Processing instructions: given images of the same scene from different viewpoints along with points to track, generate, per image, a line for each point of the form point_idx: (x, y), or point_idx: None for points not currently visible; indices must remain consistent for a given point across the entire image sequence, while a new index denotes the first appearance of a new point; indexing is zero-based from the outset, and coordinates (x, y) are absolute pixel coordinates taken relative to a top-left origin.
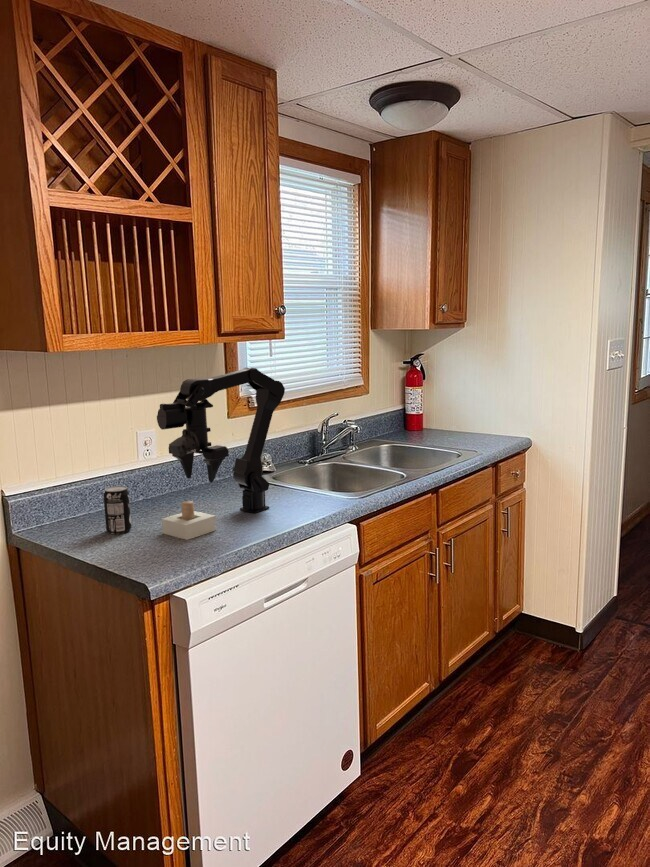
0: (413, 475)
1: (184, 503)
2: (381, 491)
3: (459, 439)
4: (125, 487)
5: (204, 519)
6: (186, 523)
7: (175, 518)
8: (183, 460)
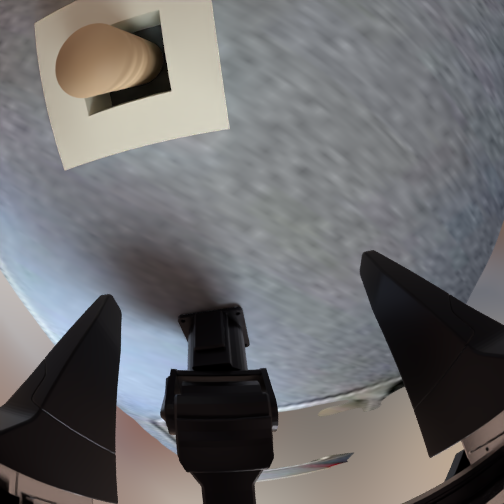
0: None
1: (90, 40)
2: (166, 435)
3: (278, 474)
4: None
5: (49, 112)
6: (48, 28)
7: (152, 6)
8: (470, 359)
